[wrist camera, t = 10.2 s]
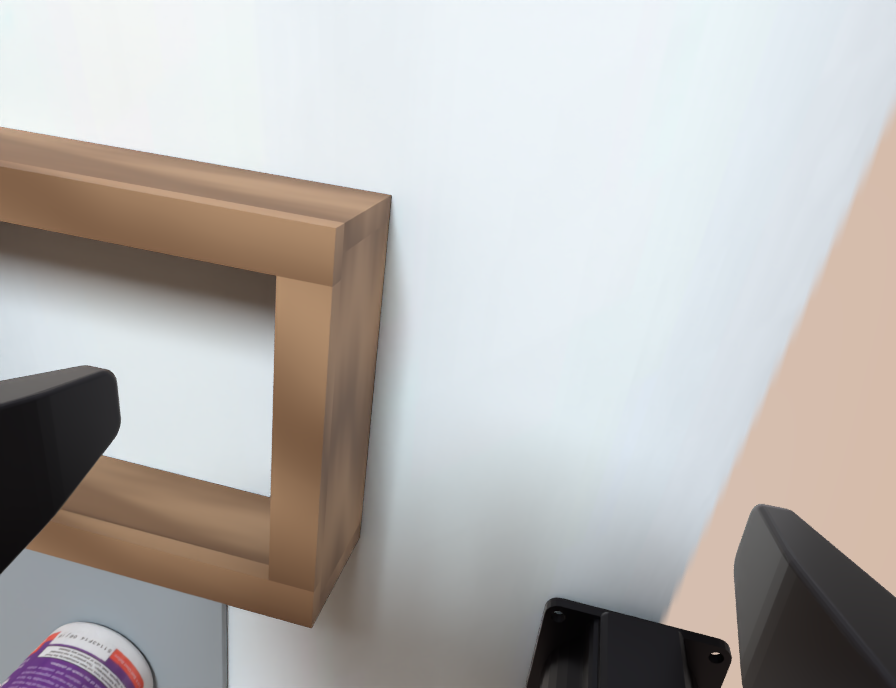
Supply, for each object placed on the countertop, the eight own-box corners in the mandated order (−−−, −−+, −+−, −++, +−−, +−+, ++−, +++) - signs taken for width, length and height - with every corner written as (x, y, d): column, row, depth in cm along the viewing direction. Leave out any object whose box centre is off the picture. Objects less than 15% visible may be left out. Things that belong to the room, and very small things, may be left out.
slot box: (359, 537, 26) (311, 628, 22) (-71, 427, 29) (-187, 489, 24) (391, 195, 21) (335, 227, 16) (-139, 102, 23) (-302, 110, 19)
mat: (227, 778, 33) (223, 786, 33) (12, 709, 35) (6, 716, 35) (226, 590, 28) (221, 597, 28) (-24, 522, 30) (-31, 528, 30)
